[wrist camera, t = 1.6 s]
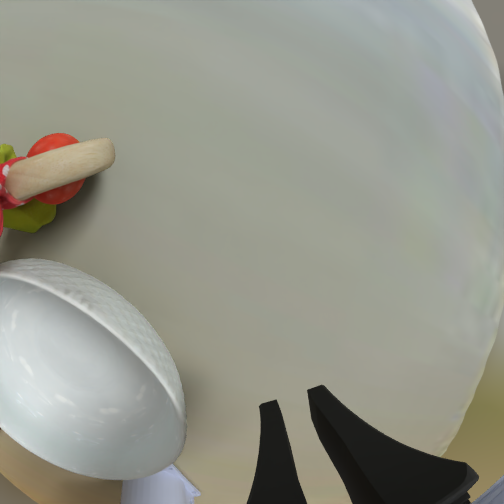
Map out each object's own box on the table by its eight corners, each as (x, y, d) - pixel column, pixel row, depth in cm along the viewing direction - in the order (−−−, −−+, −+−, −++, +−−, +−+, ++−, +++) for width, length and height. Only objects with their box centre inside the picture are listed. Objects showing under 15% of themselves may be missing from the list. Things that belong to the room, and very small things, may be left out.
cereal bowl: (235, 357, 20) (251, 431, 13) (111, 438, 21) (100, 494, 14) (62, 181, 15) (-6, 195, 8) (-22, 322, 16) (-62, 364, 9)
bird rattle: (97, 114, 16) (-18, 159, 11) (117, 28, 6) (-100, 126, 2) (116, 200, 18) (2, 247, 13) (150, 201, 8) (-71, 299, 4)
